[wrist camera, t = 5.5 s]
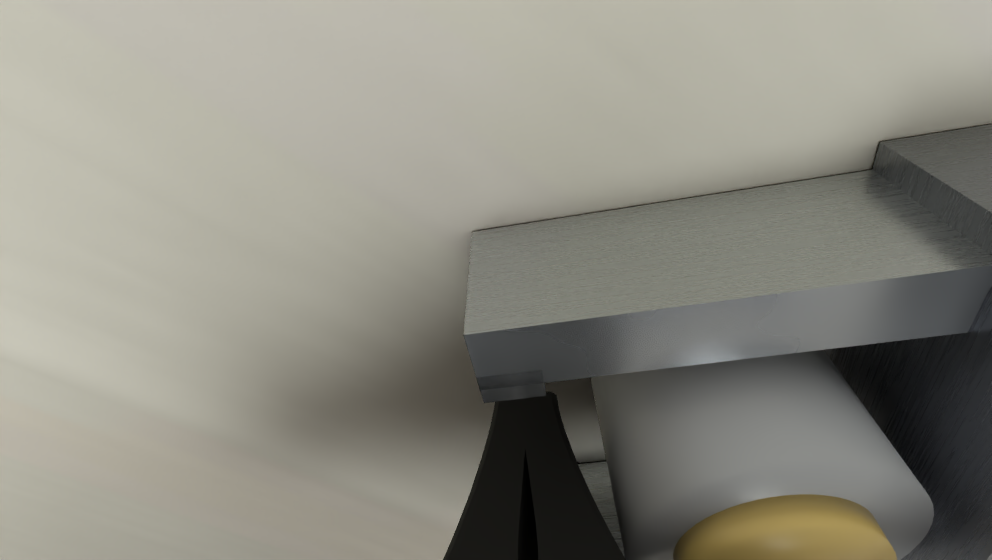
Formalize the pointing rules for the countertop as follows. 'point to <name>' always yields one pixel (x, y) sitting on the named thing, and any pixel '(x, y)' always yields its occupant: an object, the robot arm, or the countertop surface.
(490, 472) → the robot arm
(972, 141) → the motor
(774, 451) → the grey round piece
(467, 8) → the countertop surface
